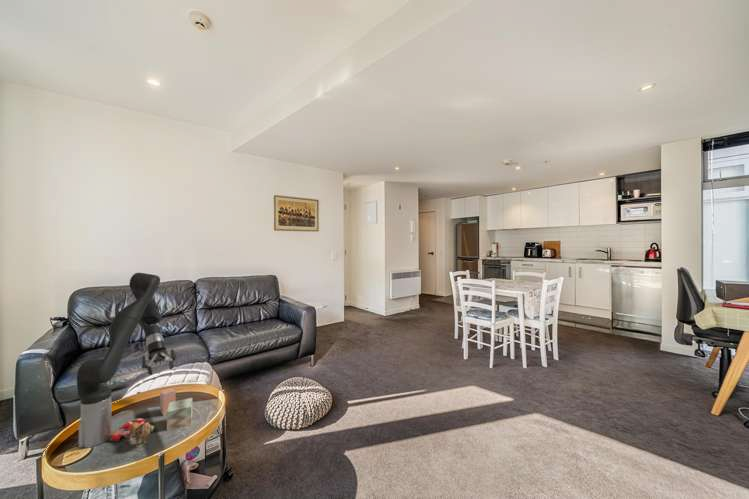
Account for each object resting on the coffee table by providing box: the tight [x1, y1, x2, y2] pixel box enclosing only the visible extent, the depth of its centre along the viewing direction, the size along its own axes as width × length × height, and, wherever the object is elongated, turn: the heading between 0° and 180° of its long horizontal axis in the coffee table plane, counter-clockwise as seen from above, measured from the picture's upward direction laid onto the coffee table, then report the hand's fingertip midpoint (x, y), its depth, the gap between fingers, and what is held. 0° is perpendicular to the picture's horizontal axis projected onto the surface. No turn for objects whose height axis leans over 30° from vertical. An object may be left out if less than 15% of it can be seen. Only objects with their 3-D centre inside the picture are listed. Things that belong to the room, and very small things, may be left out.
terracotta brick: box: [159, 387, 177, 417], centre depth 143 cm, size 5×5×10 cm
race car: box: [109, 417, 147, 443], centre depth 127 cm, size 13×5×4 cm, turn 165°
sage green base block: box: [166, 397, 193, 431], centre depth 135 cm, size 9×9×8 cm
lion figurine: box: [127, 421, 155, 449], centre depth 121 cm, size 15×5×9 cm, turn 68°
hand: (161, 371), depth 151 cm, fingers open, 8 cm apart
